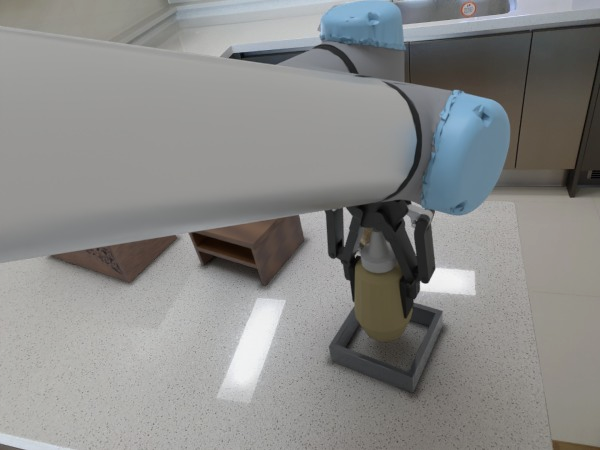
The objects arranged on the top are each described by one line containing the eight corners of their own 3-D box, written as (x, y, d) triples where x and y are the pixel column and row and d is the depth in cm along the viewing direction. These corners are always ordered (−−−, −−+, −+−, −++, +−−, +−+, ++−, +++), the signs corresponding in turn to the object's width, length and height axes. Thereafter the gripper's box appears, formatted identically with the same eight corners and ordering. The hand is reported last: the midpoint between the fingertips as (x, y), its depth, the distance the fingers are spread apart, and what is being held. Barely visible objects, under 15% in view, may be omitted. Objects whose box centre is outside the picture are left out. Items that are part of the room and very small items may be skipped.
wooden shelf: (265, 286, 84) (253, 244, 78) (201, 264, 92) (185, 225, 86) (304, 239, 93) (295, 199, 87) (242, 224, 101) (230, 185, 95)
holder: (413, 393, 62) (412, 378, 60) (331, 361, 69) (328, 346, 67) (442, 326, 70) (442, 310, 68) (367, 302, 77) (365, 288, 74)
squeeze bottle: (400, 357, 62) (395, 257, 52) (347, 338, 66) (332, 241, 56) (421, 315, 67) (420, 217, 57) (370, 299, 71) (361, 205, 61)
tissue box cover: (177, 238, 101) (161, 200, 95) (130, 282, 91) (109, 244, 85) (99, 218, 113) (81, 184, 107) (50, 256, 103) (27, 221, 97)
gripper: (472, 151, 48) (461, 304, 61) (312, 132, 58) (333, 268, 71) (450, 189, 43) (444, 346, 57) (280, 162, 53) (309, 301, 66)
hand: (382, 303), depth 64 cm, fingers closed on squeeze bottle, 6 cm apart
